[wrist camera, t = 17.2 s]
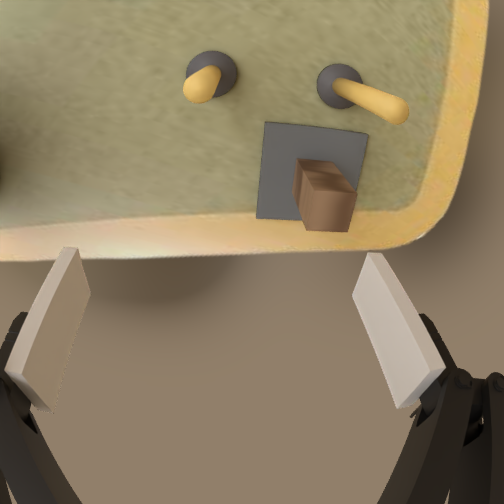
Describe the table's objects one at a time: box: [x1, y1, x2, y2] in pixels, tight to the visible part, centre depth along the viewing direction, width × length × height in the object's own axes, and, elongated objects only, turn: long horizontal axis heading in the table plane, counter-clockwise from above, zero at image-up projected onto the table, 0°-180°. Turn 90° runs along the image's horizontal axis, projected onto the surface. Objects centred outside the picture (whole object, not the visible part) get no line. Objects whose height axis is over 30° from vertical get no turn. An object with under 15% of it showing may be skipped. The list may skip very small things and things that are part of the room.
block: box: [292, 158, 357, 232], centre depth 38 cm, size 5×5×10 cm
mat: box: [256, 122, 368, 220], centre depth 43 cm, size 14×14×1 cm
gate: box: [183, 51, 409, 125], centre depth 28 cm, size 22×6×16 cm, turn 86°
